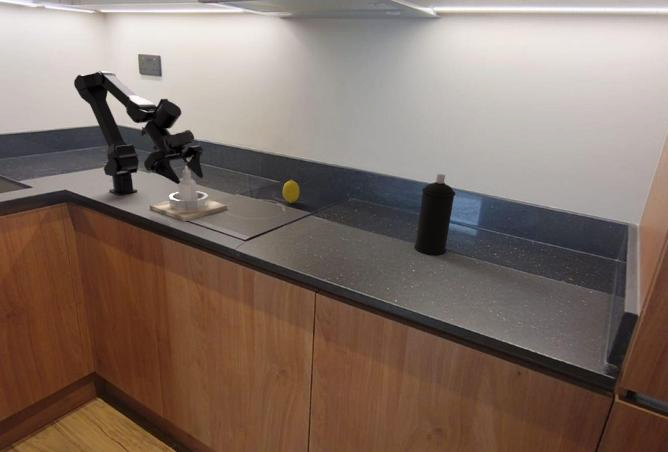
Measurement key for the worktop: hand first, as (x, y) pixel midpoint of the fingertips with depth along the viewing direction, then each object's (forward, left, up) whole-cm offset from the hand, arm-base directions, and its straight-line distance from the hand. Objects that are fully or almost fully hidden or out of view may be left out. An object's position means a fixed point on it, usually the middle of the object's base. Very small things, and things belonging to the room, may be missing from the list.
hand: (190, 180), depth 127 cm
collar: (-1, 0, -8) cm, 8 cm away
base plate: (-1, 0, -9) cm, 9 cm away
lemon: (+17, +27, -9) cm, 33 cm away
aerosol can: (+69, +21, -9) cm, 72 cm away
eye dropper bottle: (-2, 0, -8) cm, 8 cm away
